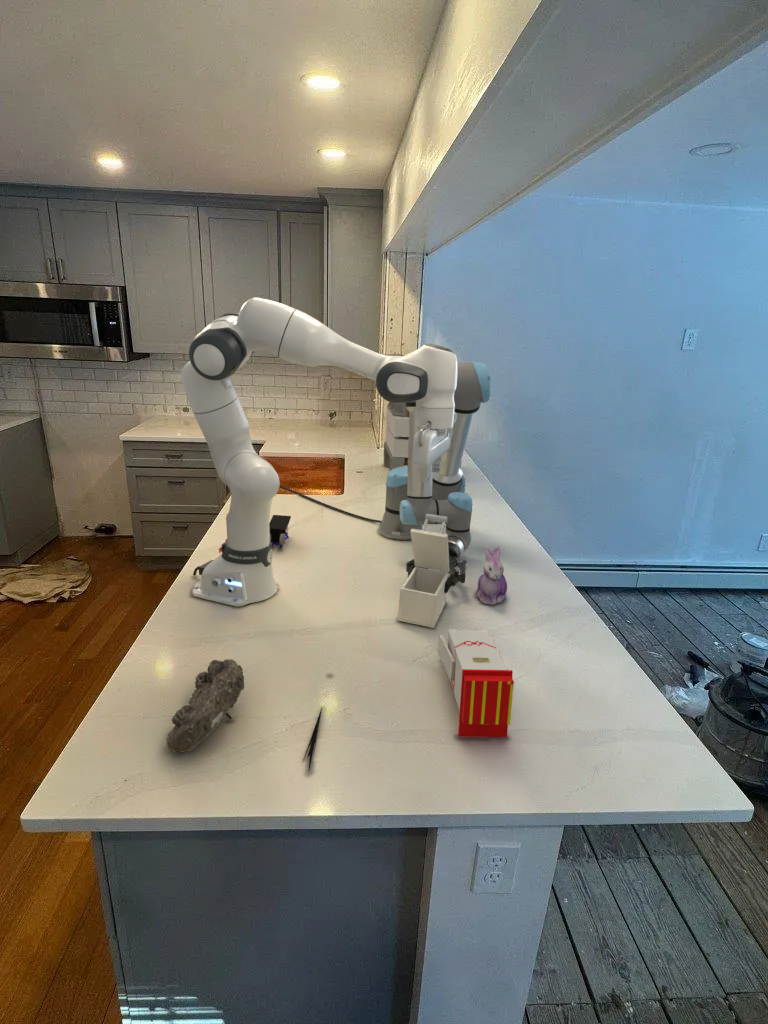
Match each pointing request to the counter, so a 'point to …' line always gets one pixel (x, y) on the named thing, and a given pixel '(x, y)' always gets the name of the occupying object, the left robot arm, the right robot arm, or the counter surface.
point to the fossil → (206, 705)
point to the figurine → (492, 579)
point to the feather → (313, 740)
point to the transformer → (397, 436)
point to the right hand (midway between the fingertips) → (427, 584)
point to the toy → (478, 682)
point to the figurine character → (279, 529)
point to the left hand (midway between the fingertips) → (430, 476)
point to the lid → (431, 546)
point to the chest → (422, 597)
